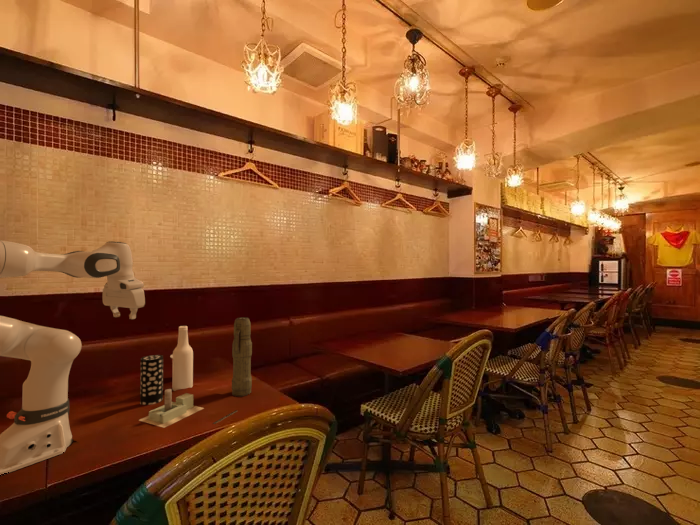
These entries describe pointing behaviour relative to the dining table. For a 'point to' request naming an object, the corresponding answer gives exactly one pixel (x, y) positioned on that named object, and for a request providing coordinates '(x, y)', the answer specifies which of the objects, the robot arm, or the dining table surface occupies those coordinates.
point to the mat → (225, 417)
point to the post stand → (168, 407)
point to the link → (177, 409)
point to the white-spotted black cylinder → (151, 380)
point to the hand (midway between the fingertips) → (124, 317)
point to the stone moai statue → (242, 357)
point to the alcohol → (182, 362)
